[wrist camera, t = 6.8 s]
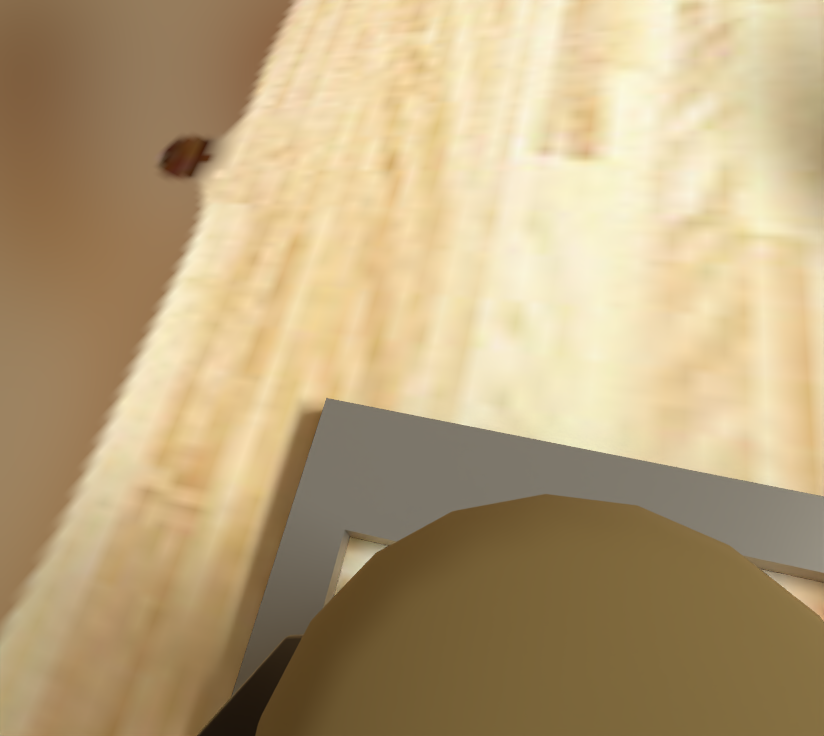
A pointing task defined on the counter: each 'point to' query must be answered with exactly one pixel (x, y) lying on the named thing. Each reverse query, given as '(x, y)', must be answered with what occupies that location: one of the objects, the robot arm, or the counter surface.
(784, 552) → the panel
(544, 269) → the counter surface
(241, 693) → the robot arm
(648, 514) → the cork
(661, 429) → the counter surface
